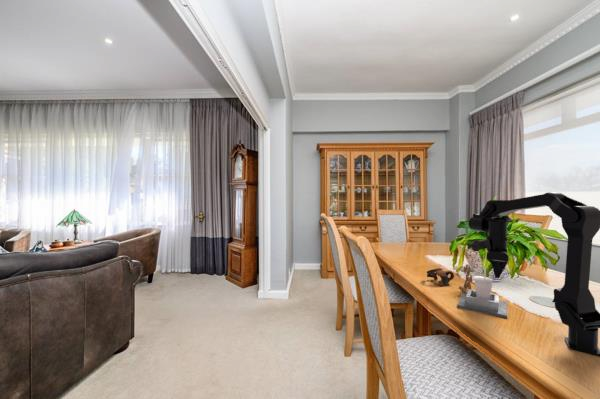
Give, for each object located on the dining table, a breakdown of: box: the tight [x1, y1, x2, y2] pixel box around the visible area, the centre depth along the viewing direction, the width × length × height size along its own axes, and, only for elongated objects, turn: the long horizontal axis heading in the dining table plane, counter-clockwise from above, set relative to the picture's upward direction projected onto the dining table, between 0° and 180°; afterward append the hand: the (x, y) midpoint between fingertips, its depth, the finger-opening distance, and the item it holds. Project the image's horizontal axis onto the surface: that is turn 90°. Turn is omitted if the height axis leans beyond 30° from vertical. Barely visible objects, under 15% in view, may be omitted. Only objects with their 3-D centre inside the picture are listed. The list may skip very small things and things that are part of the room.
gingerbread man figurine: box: [458, 263, 474, 294], centre depth 118 cm, size 9×4×12 cm, turn 168°
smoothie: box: [472, 266, 495, 300], centre depth 103 cm, size 6×6×14 cm
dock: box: [457, 288, 508, 319], centre depth 103 cm, size 15×15×4 cm
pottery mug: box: [426, 267, 455, 287], centre depth 130 cm, size 12×10×8 cm
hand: (496, 275), depth 100 cm, fingers open, 9 cm apart
